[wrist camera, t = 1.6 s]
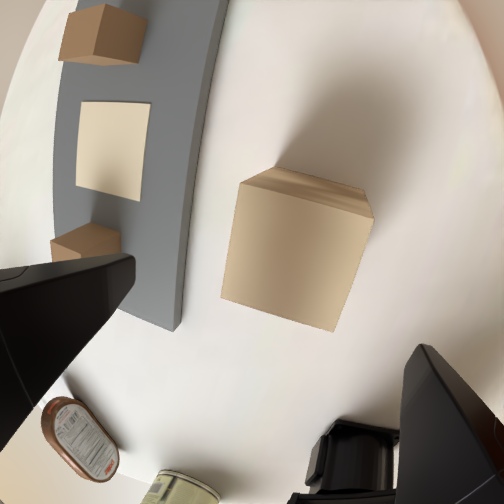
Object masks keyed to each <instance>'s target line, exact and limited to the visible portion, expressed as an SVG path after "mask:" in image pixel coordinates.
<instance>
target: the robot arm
mask: <svg viewBox="0 0 504 504" xmlns="http://www.w3.org/2000/svg"><path fill="white" fill-rule="evenodd" d="M135 281H136V259H135V257H134V256H133V255H130V254H128V253H124V252H123V253H115V254H108V255H100V256H93V257H86V258H79V259H71V260H64V261H57V262H50V263H43V264H36V265H30V266H22V267H15V268H8V269H0V452H1V451H2V450H3V448H4V447H5V446H6V444H7V443H8V442H9V440H10V439H11V437H12V436H13V435H14V434H15V432H16V431H17V429H18V428H19V427H20V426H21V424H22V423H23V422H24V420H25V419H26V418H27V416H28V415H29V414H30V413H31V411H32V410H33V407H35V406H36V405H37V403H38V402H39V401H40V400H41V398H42V397H43V396H44V395H45V393H46V392H47V391H48V390H49V389H50V387H51V386H52V385H53V384H54V382H55V381H56V380H57V379H58V378H59V376H60V375H61V374H62V373H63V372H64V370H65V369H66V368H67V367H68V366H69V364H70V363H71V362H72V361H73V360H74V359H75V357H76V356H77V355H78V354H79V353H80V352H81V350H82V349H83V348H84V347H85V346H86V345H87V343H88V342H89V341H90V340H91V339H92V338H93V337H94V335H95V334H96V333H97V332H98V331H99V330H100V329H101V328H102V326H103V325H104V324H105V323H106V322H107V321H108V320H109V318H110V317H111V316H112V315H113V313H114V312H115V311H116V309H117V308H118V306H119V305H120V304H121V302H122V301H123V300H124V298H125V297H126V295H127V294H128V293H129V291H130V290H131V289H132V287H133V286H134V284H135ZM399 441H400V444H399V464H398V477H397V487H396V489H393V481H394V446H395V445H396V444H397V443H398V442H399ZM305 484H306V486H310V491H309V494H300V493H293V494H292V496H291V498H290V500H288V502H287V504H504V425H503V424H502V423H501V422H500V420H499V419H498V418H497V417H495V415H494V413H493V412H492V411H491V410H490V409H489V408H488V407H487V405H486V404H485V403H484V402H483V401H482V400H481V399H480V398H479V396H478V395H477V394H476V393H475V392H474V391H473V390H472V389H471V387H470V386H469V385H468V384H467V383H466V382H465V381H464V380H463V379H462V378H461V377H460V375H459V374H458V373H457V372H456V371H455V370H454V369H453V368H452V367H451V366H450V365H449V364H448V363H447V362H446V361H445V359H444V358H443V357H442V356H441V355H440V354H439V353H438V352H437V351H436V350H435V349H434V348H433V347H432V346H430V345H426V344H422V343H421V344H419V345H418V346H417V347H416V348H415V350H414V352H413V354H412V355H411V357H410V359H409V360H408V362H407V364H406V366H405V369H404V380H403V391H402V401H401V411H400V431H395V430H389V429H383V428H377V427H372V426H367V425H362V424H357V423H352V422H347V421H343V420H337V421H335V422H334V423H333V424H332V426H331V427H330V429H329V430H328V432H327V433H326V435H323V436H321V437H320V439H319V440H318V442H317V443H316V444H315V446H314V447H313V449H312V452H311V457H310V462H309V466H308V471H307V475H306V480H305ZM0 504H4V503H3V502H2V501H1V500H0Z"/></svg>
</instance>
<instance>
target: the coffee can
mask: <svg viewBox="0 0 504 504" xmlns="http://www.w3.org/2000/svg"><path fill="white" fill-rule="evenodd" d="M220 499H221V498H220V496H219V494H218V493H217V492H216V491H215V490H213V489H212V488H211V487H209V486H207V485H206V484H204V483H202V482H200V481H198V480H196V479H194V478H191V477H189V476H186V475H183V474H180V473H177V472H173V471H165V470H164V471H160V472H159V473H158V475H157V477H156V479H155V481H154V482H153V484H152V486H151V487H150V489H149V491H148V492H147V494H146V495H145V497H144V499H143V500H142V502H141V504H218V503H219V501H220Z"/></svg>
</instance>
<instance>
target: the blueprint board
mask: <svg viewBox="0 0 504 504" xmlns="http://www.w3.org/2000/svg"><path fill="white" fill-rule="evenodd" d="M228 2H229V0H79V1H78V4H77V7H76V11H75V12H72V13H69V15H68V19H67V23H66V27H65V31H64V35H63V39H62V44H61V48H60V53H59V58H58V61H64V62H63V68H62V74H61V80H60V87H59V94H58V102H57V111H56V121H55V134H54V151H53V212H54V230H55V239H53V240H51V241H50V244H51V254H52V262H57V261H64V260H71V259H79V258H86V257H93V256H100V255H108V254H115V253H123V252H124V253H128V254H130V255H133V256H134V257H135V259H136V281H135V284H134V286H133V287H132V289H131V290H130V291H129V293H128V294H127V295H126V297H125V298H124V300H123V301H122V302H121V304H120V305H119V306H118V309H120V310H123V311H125V312H127V313H129V314H131V315H134V316H136V317H138V318H141V319H143V320H145V321H147V322H150V323H152V324H154V325H157V326H159V327H162V328H164V329H167V330H169V331H171V332H174V330H175V329H176V328H177V327H178V326H179V325H180V323H181V309H182V296H183V284H184V272H185V262H186V251H187V242H188V233H189V224H190V215H191V207H192V199H193V191H194V184H195V177H196V169H197V163H198V156H199V149H200V143H201V137H202V130H203V124H204V118H205V113H206V107H207V101H208V96H209V90H210V85H211V80H212V75H213V70H214V65H215V60H216V55H217V50H218V46H219V41H220V37H221V32H222V28H223V23H224V19H225V15H226V11H227V7H228Z"/></svg>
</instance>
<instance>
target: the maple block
mask: <svg viewBox="0 0 504 504" xmlns="http://www.w3.org/2000/svg"><path fill="white" fill-rule="evenodd" d="M373 222H374V217H373V215H372V212H371V209H370V206H369V204H368V201H367V198H366V196H365V193H364V191H363V190H360V189H357V188H353V187H350V186H346V185H343V184H339V183H336V182H332V181H329V180H325V179H321V178H318V177H314V176H310V175H306V174H302V173H298V172H294V171H290V170H286V169H282V168H278V167H272V168H270V169H268V170H266V171H264V172H262V173H260V174H257V175H255V176H253V177H251V178H249V179H247V180H245V181H243V182H241V183H240V185H239V190H238V196H237V201H236V207H235V213H234V219H233V225H232V230H231V236H230V242H229V248H228V254H227V260H226V266H225V273H224V279H223V285H222V291H221V298H223V299H226V300H229V301H232V302H235V303H238V304H241V305H244V306H247V307H250V308H254V309H257V310H260V311H263V312H266V313H269V314H273V315H276V316H279V317H282V318H286V319H289V320H292V321H296V322H299V323H302V324H306V325H309V326H313V327H316V328H320V329H323V330H327V331H330V332H334V330H335V327H336V325H337V322H338V320H339V317H340V315H341V312H342V310H343V307H344V305H345V302H346V300H347V297H348V294H349V292H350V289H351V286H352V284H353V281H354V278H355V275H356V273H357V270H358V267H359V264H360V261H361V259H362V256H363V253H364V250H365V247H366V244H367V241H368V238H369V235H370V232H371V228H372V225H373Z"/></svg>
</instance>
